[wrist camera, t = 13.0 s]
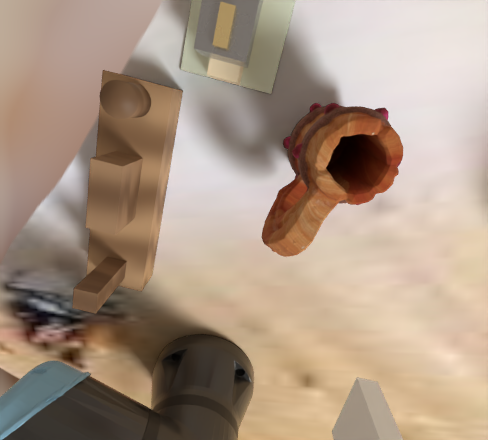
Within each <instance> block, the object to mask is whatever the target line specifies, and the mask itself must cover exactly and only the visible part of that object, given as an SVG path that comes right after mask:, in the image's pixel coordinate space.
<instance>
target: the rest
mask: <svg viewBox="0 0 488 440" xmlns="http://www.w3.org/2000/svg"><path fill="white" fill-rule="evenodd" d="M201 2H202V0H192V1H191V7H190V14H189V20H188V26H187V32H186V39H185V45H184V51H183V57H182V64H181V70H183V71H187V72H190V73H194V74H198V75H202V76H205V77H209V78H213V79H216V80H220V81H224V82H228V83H231V84H235V85H239V86H243V87H246V88H250V89H254V90H257V91H261V92H265V93H269V94H271V92H272V89H273V85H274V81H275V77H276V73H277V69H278V66H279V62H280V58H281V54H282V50H283V46H284V42H285V39H286V35H287V31H288V27H289V23H290V19H291V16H292V12H293V8H294V4H295V0H263V4H262V8H261V13H260V17H259V21H258V26H257V30H256V34H255V39H254V43H253V48H252V52H251V56H250V61H249V65H248V68H246V67H242V66H238V65H235V64H231V63H227V62H223V61H220V60H216V59H212V58H209V57H205V56H202V55H201V54H200V53H199V52H198V51H196V50H195V49H194V44H195V38H196V32H197V26H198V20H199V14H200V8H201Z"/></svg>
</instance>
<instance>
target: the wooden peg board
mask: <svg viewBox="0 0 488 440" xmlns="http://www.w3.org/2000/svg"><path fill="white" fill-rule="evenodd" d="M182 92H183V91H182V90H178V89H174V88H170V87H167V86H163V85H159V84H155V83H152V82H148V81H144V80H140V79H137V78H133V77H129V76H125V75H122V74H118V73H113V72H109V71H105V70H103V74H102V86H101V92H100V110H99V123H98V136H97V148H96V157H93V158H91V159H90V173H89V186H88V200H87V214H86V227H85V228H89V229H90V237H89V250H88V262H87V275H86V277H85V278H84V279H83V280H82V281H81V282H80V283H79V284H78V285H77V286H76V287H75V288H74V292H73V308H75V309H79V310H83V311H87V312H91V313H95V314H96V313H97V311H98V310H99V309H100V308H101V306H102V305H103V304H104V303H105V302H106V300H107V299H108V298H109V297H110V295H111V294H112V293H113V292H114V290H115V289H116V288H117V287H118V286H122V287H126V288H130V289H134V290H138V291H142V290H143V288H144V287H145V285H146V284H147V282H148V281H149V279H150V278H151V276H152V273H153V267H154V261H155V255H156V249H157V243H158V237H159V231H160V225H161V219H162V213H163V207H164V201H165V195H166V189H167V183H168V177H169V171H170V165H171V159H172V153H173V147H174V141H175V135H176V129H177V123H178V117H179V110H180V104H181V98H182Z"/></svg>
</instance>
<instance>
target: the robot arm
mask: <svg viewBox="0 0 488 440" xmlns="http://www.w3.org/2000/svg"><path fill="white" fill-rule="evenodd" d="M90 375H91V374H90V373H89V372H86V373H84V372H82V371H80V370H77V369H75V368H73V367H71V366H69V365H67V364H64V363H62V362H59V361H48V362H45V363H42V364H40V365H38V366H37V367H35V368H34V369H32V370H31V371H30V372H28V373H27V374H26V375H25V376H23V377H22V378H21V379H20V380H19V381H18V382H17V383H16V384H14V385H13V386H12V387H11V388H10V389H9V390H8V391H7V392H5V394H3V395H2V396H1V397H0V440H237V439H238V429H239V426H240V424H241V422H242V419H243V417H244V415H245V412H246V410H247V407H248V405H249V403H250V400H251V398H252V394H253V386H254V372H253V368H252V365H251V363H250V361H249V359H248V357H247V356H246V355H245V354H244V352H243V351H242V350H240V349H239V348H238V347H237V346H235V345H234V344H232V343H231V342H229V341H227V340H224V339H222V338H219V337H215V336H210V335H190V336H185V337H182V338H179V339H177V340H175V341H173V342H172V343H170V344H169V345H168V346H166V347H165V348H164V350H163V351H162V352H161V354H160V356H159V358H158V360H157V363H156V365H155V367H154V371H153V375H152V399H151V409H149V408H148V407H146V406H144V405H143V404H141V403H139V402H137V401H135V400H133V399H131V398H130V397H128V396H126V395H124V394H122V393H120V392H118V391H117V390H115V389H113V388H111V387H109V386H107V385H105V384H104V383H102V382H100V381H98V380H96V379H94V378H92V377H91V376H90ZM332 434H333V438H334V440H403V438H402V436H401V434H400V431H399V429H398V427H397V424H396V422H395V420H394V418H393V415H392V413H391V411H390V409H389V406H388V404H387V402H386V399H385V397H384V395H383V393H382V390H381V388H380V386H379V384H378V382H376V381H372V380H367V379H363V378H358V377H357V378H356V380H355V383H354V385H353V387H352V389H351V391H350V393H349V396H348V398H347V400H346V402H345V404H344V406H343V409H342V411H341V413H340V415H339V417H338V419H337V422H336V424H335V426H334V428H333V430H332Z"/></svg>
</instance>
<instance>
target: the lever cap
mask: <svg viewBox="0 0 488 440" xmlns="http://www.w3.org/2000/svg"><path fill="white" fill-rule="evenodd" d="M262 4H263V0H202V2H201V8H200V14H199V20H198V26H197V32H196V38H195V44H194V49H195V50H196V51H198V52H199V53H200V54H201V55H202V56H205V57H209V58H212V59H216V60H220V61H223V62H227V63H231V64H235V65H238V66H242V67H246V68H248V65H249V61H250V56H251V52H252V48H253V43H254V39H255V34H256V30H257V26H258V21H259V17H260V13H261V8H262Z"/></svg>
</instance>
